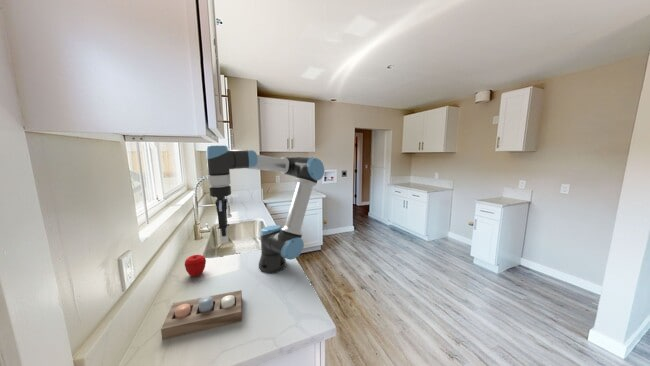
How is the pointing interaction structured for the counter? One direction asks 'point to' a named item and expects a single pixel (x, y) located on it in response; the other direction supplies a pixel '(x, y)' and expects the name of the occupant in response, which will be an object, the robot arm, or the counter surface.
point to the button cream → (228, 301)
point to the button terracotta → (182, 311)
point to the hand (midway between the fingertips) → (224, 242)
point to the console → (202, 316)
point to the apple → (195, 265)
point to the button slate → (205, 304)
